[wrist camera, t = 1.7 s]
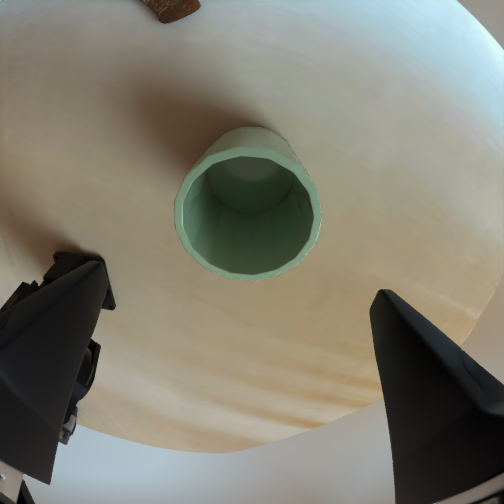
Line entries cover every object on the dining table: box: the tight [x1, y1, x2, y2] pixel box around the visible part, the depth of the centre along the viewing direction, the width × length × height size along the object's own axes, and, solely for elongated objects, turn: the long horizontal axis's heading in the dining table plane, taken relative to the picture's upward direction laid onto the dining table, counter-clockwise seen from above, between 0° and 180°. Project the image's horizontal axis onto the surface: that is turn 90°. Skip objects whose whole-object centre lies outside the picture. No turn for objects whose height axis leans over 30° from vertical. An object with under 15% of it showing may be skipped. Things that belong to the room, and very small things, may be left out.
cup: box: [174, 126, 322, 281], centre depth 16 cm, size 7×7×8 cm
